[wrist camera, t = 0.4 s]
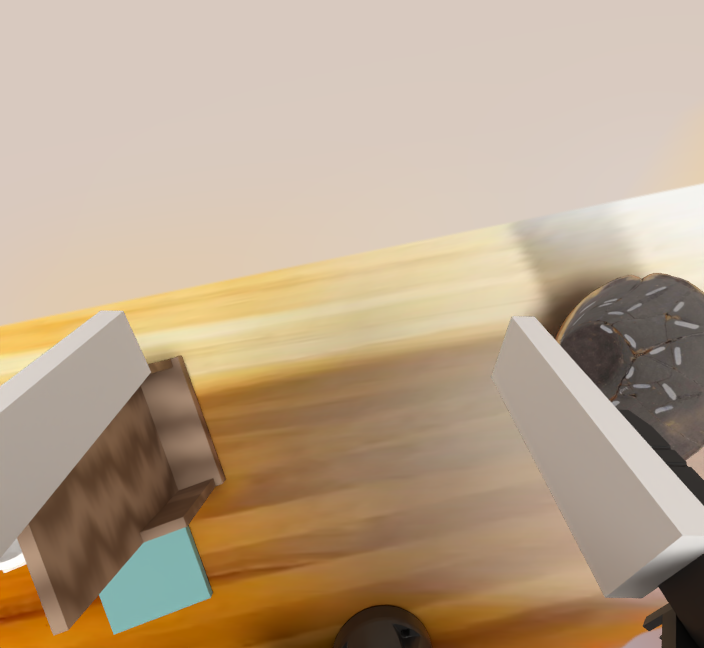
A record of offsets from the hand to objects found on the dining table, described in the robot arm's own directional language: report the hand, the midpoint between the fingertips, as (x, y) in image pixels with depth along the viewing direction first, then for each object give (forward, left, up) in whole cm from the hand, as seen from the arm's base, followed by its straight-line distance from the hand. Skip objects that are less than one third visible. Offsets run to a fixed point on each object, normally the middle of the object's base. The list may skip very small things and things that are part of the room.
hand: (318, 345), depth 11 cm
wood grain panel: (-7, +25, -35) cm, 44 cm away
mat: (-24, +35, -35) cm, 55 cm away
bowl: (-18, -35, -35) cm, 53 cm away
